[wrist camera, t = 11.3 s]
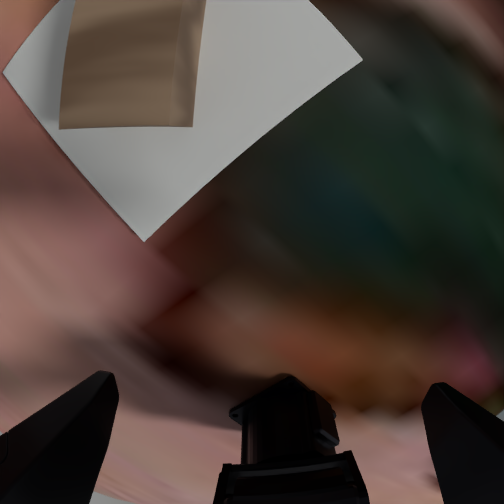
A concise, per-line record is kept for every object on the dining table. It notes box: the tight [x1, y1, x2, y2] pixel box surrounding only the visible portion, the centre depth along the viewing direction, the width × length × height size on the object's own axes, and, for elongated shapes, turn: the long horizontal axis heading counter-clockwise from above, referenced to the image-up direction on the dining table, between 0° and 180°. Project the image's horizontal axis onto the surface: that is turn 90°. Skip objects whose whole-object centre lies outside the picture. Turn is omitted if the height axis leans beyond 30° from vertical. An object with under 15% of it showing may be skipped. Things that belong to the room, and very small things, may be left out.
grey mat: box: [3, 0, 363, 242], centre depth 14 cm, size 16×16×1 cm
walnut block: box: [59, 0, 206, 130], centre depth 12 cm, size 5×5×10 cm
